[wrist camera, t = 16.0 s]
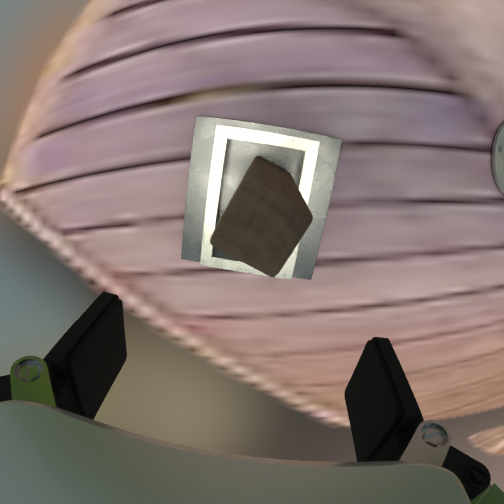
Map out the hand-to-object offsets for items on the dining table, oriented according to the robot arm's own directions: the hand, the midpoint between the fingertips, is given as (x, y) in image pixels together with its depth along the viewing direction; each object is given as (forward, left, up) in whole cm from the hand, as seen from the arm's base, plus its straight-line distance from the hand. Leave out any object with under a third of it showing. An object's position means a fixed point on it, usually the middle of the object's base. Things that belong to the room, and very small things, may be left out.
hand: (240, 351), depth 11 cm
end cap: (0, 0, -27) cm, 27 cm away
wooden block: (+1, 0, -26) cm, 26 cm away
